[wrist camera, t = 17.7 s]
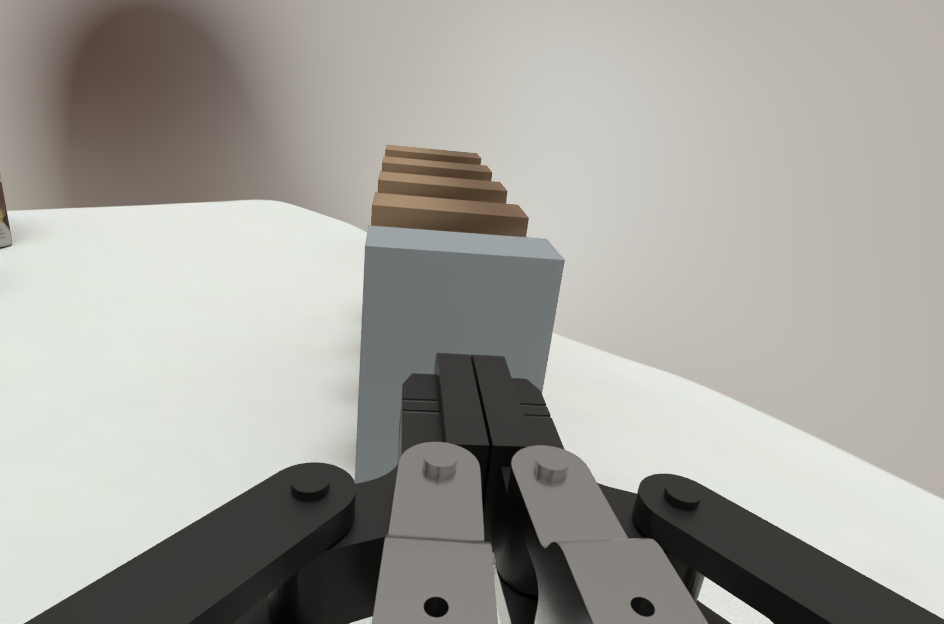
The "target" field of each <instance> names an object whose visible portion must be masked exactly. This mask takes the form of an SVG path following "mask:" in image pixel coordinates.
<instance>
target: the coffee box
mask: <svg viewBox="0 0 944 624" xmlns="http://www.w3.org/2000/svg"><path fill="white" fill-rule="evenodd" d="M11 244H12V238H11V232H10V227H9V221H8V216H7V211H6V205H5V200H4V194H3V188H2V182H1V176H0V247H5V246H9V245H11Z"/></svg>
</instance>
